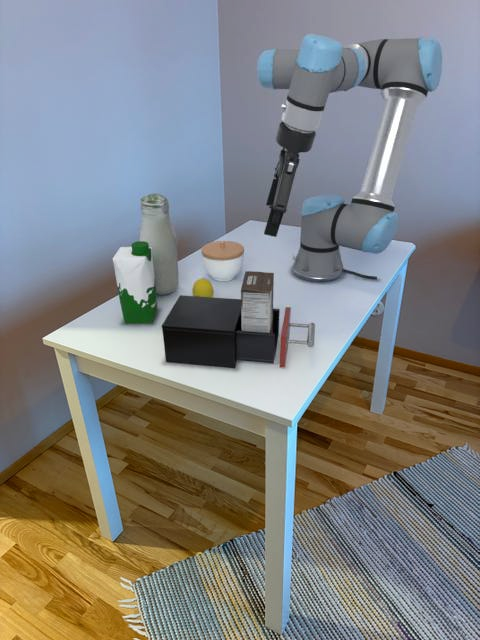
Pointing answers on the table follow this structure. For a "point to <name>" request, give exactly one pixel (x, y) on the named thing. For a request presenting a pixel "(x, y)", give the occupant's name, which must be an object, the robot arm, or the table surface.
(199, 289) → the lemon
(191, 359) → the cabinet
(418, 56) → the robot arm
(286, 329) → the drawer
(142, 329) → the table surface
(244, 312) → the coffee box
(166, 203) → the glass bottle
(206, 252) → the lidded bowl
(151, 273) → the milk carton
